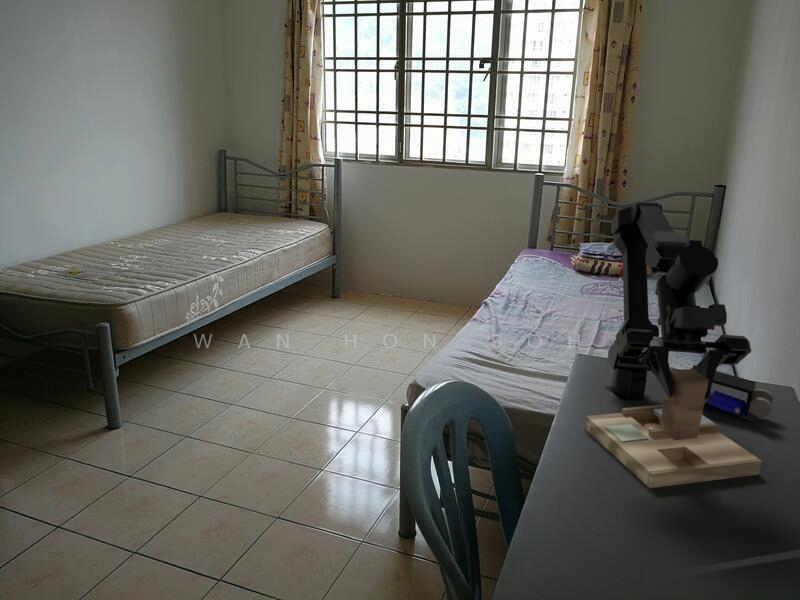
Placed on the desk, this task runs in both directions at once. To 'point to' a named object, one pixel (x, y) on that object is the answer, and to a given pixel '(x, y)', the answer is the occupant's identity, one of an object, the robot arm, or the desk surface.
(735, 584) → the desk surface
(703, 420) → the lid
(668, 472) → the puzzle board
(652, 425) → the ball
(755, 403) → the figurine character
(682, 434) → the peg
